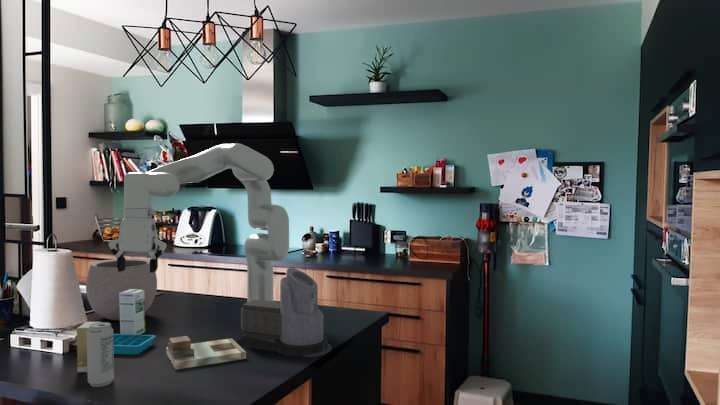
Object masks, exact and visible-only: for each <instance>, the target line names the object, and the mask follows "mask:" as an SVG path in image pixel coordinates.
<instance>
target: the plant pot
mask: <svg viewBox="0 0 720 405" xmlns="http://www.w3.org/2000/svg"><path fill="white" fill-rule="evenodd" d="M116 246H119V243H118V244H116ZM109 249H110V248H109ZM110 251H111V249H110ZM86 275H87V276H86V282H85V292H86V296H87V300H88V301H87V302H88V303H89V305H90V307H91V309H92V310H93V311H94V312H95V313H96V314H97V315H99V316H100V317H102V318H104V319H107V320H110V321H120V304H119V293H121V292H124V291H127V290H130V289H140V290H144V296H145V312H146V311H147V310H148V309H149V308H150V307H151V306H152V304H153V302H154V299H155V297H156V293H157V289H158V288H157V287H158V277H157V271H156V272H153V273H151V272H150V259H148V258H135V257H134V258H133V257H130V258H127V257H125V270H124V271H121V272H118V268H117V258H110V259H104V260H98V261H93V262H91V263H90V265H89V268H88V272H87V274H86Z"/></svg>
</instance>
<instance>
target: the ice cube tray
mask: <svg viewBox="0 0 720 405" xmlns="http://www.w3.org/2000/svg"><path fill="white" fill-rule="evenodd" d="M156 337H157V336H156V335H154V334H139V335H134V334H120V333H113V347H114V355H139V354H141V353H143V352H144V351H145V350H147V349H149V348H150V347H151V345H152V346H153V340H154V339H155V338H156ZM75 346H77V342H76V343H75ZM149 346H150V347H149ZM148 347H149V348H148ZM146 348H147V349H146ZM143 350H144V351H143ZM140 352H141V353H140Z"/></svg>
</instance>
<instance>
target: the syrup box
mask: <svg viewBox="0 0 720 405" xmlns="http://www.w3.org/2000/svg"><path fill="white" fill-rule="evenodd" d="M119 304H120V320H119V329H120V331H119V334H134V335H143V333H145V332H146V311H145V296H144V290H140V289H130V290H127V291H124V292H121V293H119Z"/></svg>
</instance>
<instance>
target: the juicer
mask: <svg viewBox="0 0 720 405" xmlns="http://www.w3.org/2000/svg"><path fill="white" fill-rule="evenodd" d="M279 286H280V287H279V290H280V295H279V299H280V300H279V301H274V300H273V301H263V300H253V301H251V302H248V303H247V302H245V303H243V304H242V307H240V329H241V330H242V331H243V335H242V336H241V337H239V339H238V341H237V342H236V343H237V344H238V345H239V346H240V347H241V348H242V347H243V348H250V349H256V350H262V351H271V352H276V353H278V354H280V355H283V356H289V357H304V358H305V357H306V358H315V357H319V356H320V357H321V356H323V355H327V354H328V353H330V352H331V351H332V350H333V346H332V344H330V343H328V339H329V338H328V337H327V335H325V334H324V318H325V317H324V313H323V312H322V310H321V309H319V307H318V287H319V286H318V284H317V282H316V280H314V279H313V278H312V277H311V276H310V275H308V274H307V273H305V272H304V271H302V270H299V269H297V268H294V267H293V268H292V267H290V268H287V269H286V276H285V277H282V278H281V279H280V285H279Z"/></svg>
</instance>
